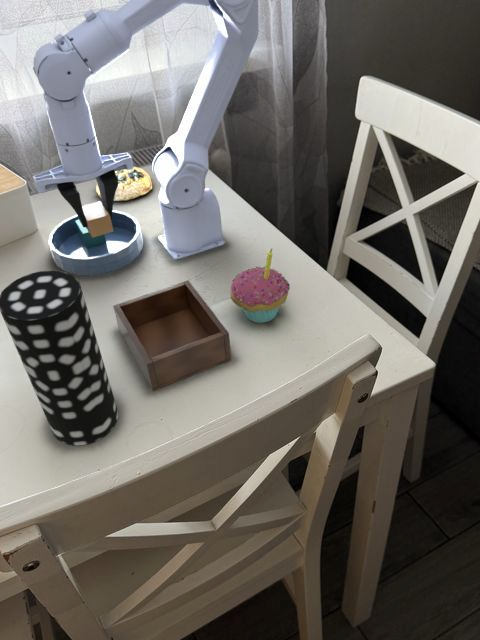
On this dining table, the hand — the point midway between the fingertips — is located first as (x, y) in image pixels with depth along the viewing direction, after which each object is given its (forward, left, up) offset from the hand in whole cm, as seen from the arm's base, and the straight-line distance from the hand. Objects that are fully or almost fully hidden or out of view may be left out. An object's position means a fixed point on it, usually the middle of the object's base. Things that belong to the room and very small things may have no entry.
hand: (96, 220), depth 94 cm
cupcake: (-16, +25, -8) cm, 31 cm away
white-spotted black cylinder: (+13, +32, -8) cm, 35 cm away
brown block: (0, 0, -1) cm, 1 cm away
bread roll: (-11, -22, -8) cm, 26 cm away
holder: (-2, +25, -8) cm, 26 cm away
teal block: (0, -8, -8) cm, 11 cm away
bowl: (0, -4, -8) cm, 9 cm away
